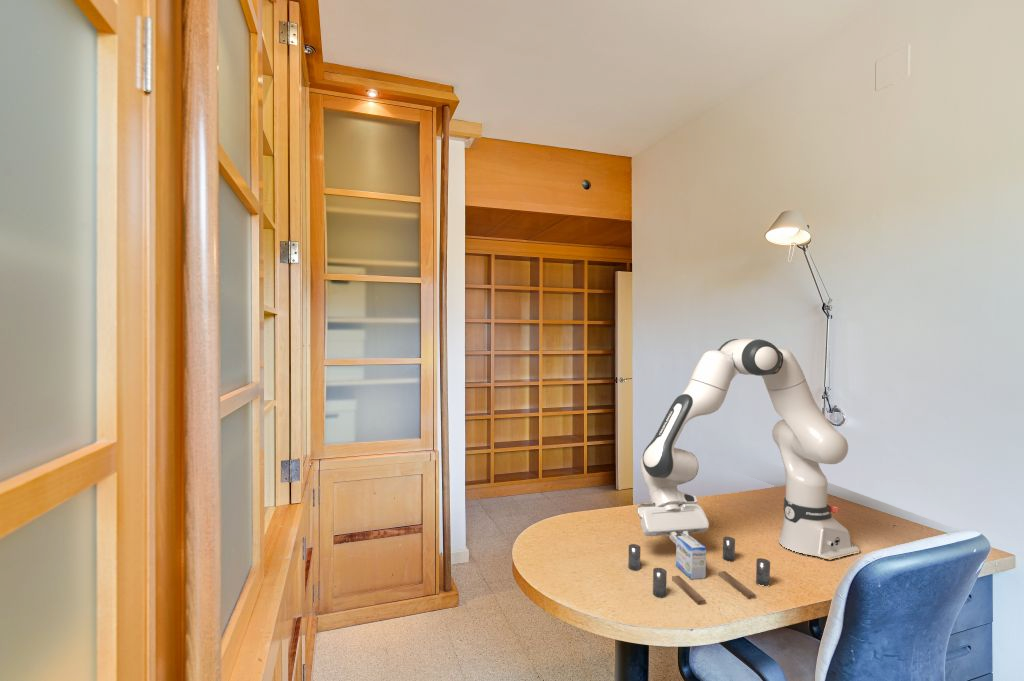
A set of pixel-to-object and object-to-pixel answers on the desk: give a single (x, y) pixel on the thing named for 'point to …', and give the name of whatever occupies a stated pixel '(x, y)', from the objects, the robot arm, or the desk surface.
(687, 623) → the desk surface
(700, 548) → the medicine box
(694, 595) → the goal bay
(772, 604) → the desk surface
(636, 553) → the spacer posts
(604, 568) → the desk surface
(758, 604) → the desk surface
